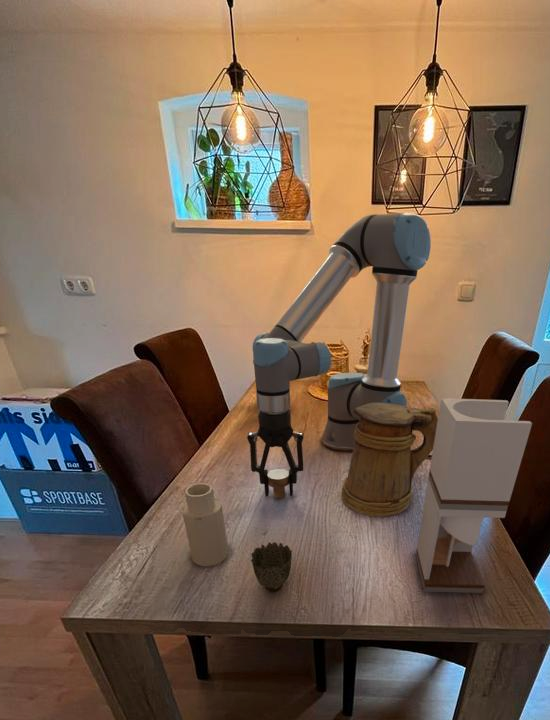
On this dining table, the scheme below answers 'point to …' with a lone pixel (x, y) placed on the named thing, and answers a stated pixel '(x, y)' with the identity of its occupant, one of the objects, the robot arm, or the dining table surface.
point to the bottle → (204, 525)
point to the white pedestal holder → (466, 488)
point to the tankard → (386, 457)
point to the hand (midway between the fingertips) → (279, 493)
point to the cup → (272, 565)
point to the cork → (278, 481)
